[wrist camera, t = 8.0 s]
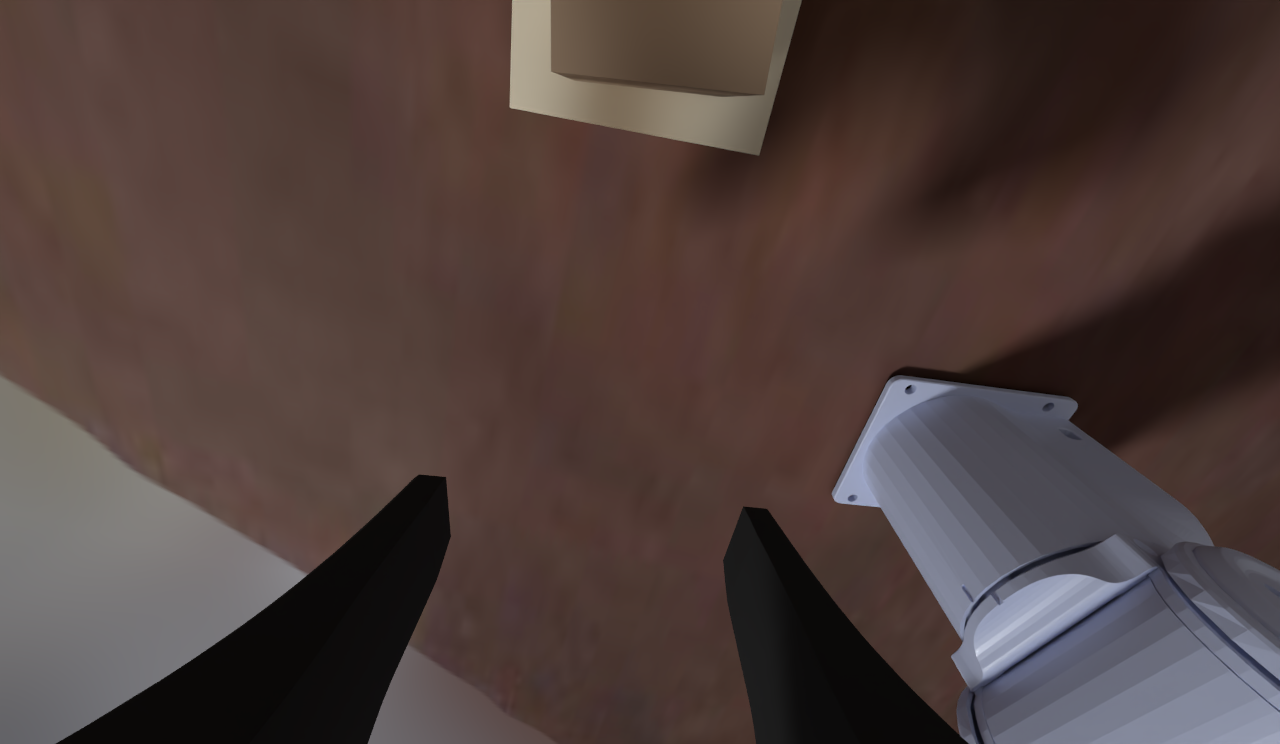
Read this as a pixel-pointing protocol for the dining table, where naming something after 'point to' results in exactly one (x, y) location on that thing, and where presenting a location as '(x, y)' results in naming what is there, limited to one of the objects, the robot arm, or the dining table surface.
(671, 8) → the walnut block
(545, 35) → the maple base block
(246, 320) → the dining table surface
